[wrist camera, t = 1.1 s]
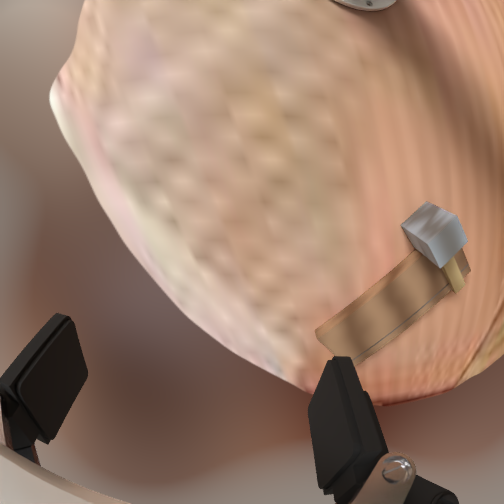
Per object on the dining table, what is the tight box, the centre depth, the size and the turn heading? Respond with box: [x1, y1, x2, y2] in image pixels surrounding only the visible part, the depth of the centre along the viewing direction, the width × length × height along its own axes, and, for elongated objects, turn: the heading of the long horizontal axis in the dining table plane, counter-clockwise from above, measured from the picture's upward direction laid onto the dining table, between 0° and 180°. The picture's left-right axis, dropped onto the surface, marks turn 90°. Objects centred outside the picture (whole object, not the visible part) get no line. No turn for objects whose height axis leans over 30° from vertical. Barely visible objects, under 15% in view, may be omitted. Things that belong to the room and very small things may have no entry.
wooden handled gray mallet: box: [401, 201, 468, 293], centre depth 31 cm, size 5×13×7 cm, turn 43°
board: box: [315, 248, 471, 367], centre depth 36 cm, size 24×9×2 cm, turn 133°
